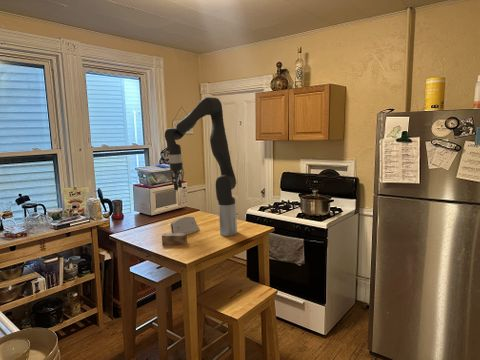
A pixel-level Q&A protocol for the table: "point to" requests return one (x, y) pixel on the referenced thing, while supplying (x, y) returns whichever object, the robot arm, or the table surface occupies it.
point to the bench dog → (174, 239)
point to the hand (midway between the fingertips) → (178, 188)
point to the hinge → (184, 225)
